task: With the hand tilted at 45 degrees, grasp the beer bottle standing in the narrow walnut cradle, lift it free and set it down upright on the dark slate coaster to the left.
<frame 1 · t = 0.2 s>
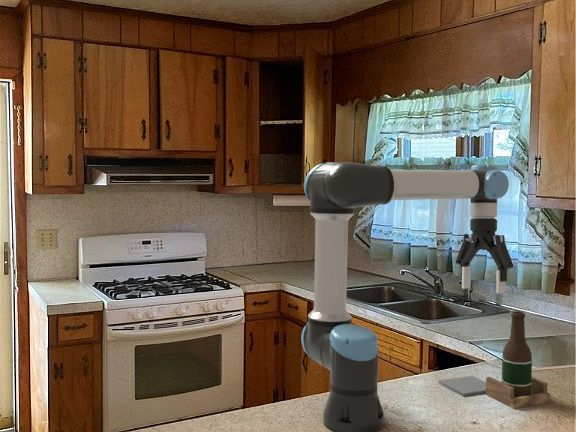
hand: (482, 290, 184), 28 cm above the worktop, tool pointing down, fingers open, 13 cm apart
cradle: (515, 397, 174), on the worktop
coaster: (467, 386, 183), on the worktop
beer bottle: (515, 398, 174), resting in cradle
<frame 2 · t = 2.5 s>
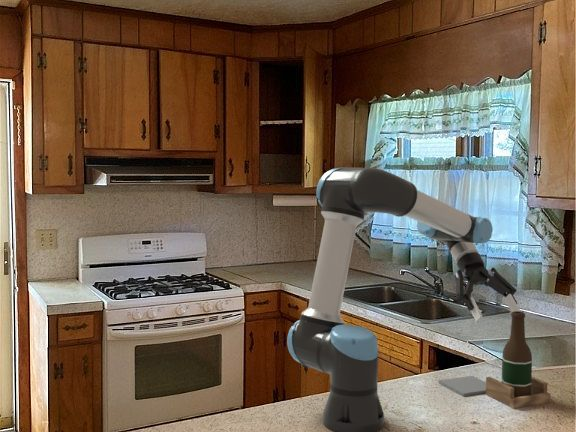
hand: (499, 317, 181), 21 cm above the worktop, tool tilted 45°, fingers open, 13 cm apart
nothing on the worktop moved.
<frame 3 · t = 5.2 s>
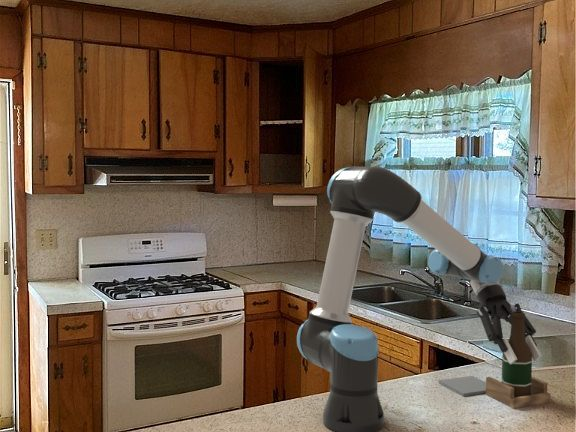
hand: (525, 360, 170), 12 cm above the worktop, tool tilted 45°, fingers closed on beer bottle, 7 cm apart
beer bottle: (515, 398, 174), resting in cradle, touching gripper
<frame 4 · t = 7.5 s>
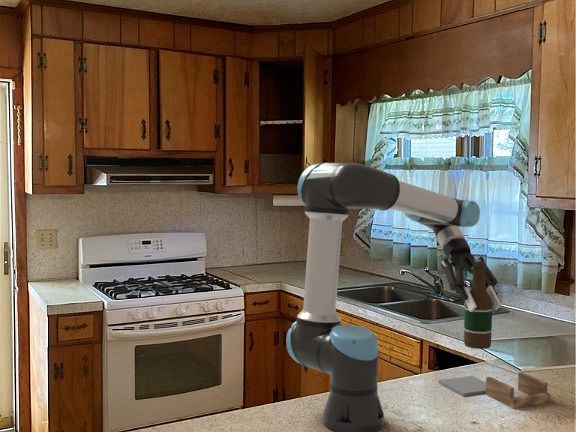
hand: (485, 308, 176), 24 cm above the worktop, tool tilted 45°, fingers closed on beer bottle, 7 cm apart
beer bottle: (477, 346, 180), point 12 cm above the worktop, touching gripper
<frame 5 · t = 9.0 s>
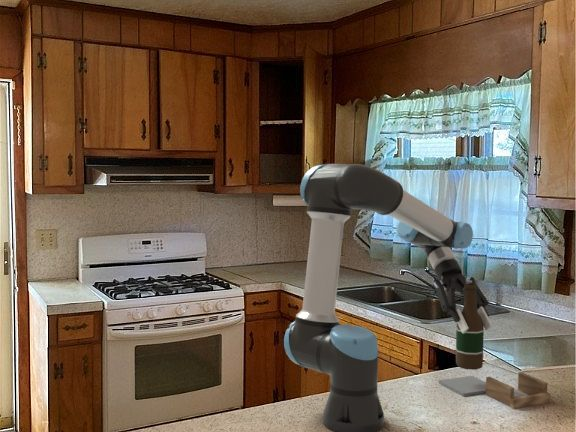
hand: (477, 329, 179), 18 cm above the worktop, tool tilted 45°, fingers closed on beer bottle, 7 cm apart
beer bottle: (469, 366, 183), point 6 cm above the worktop, touching gripper
when the fingers open (13 cm above the worktop, at t = 10.2 s): beer bottle drops 1 cm, resting on coaster.
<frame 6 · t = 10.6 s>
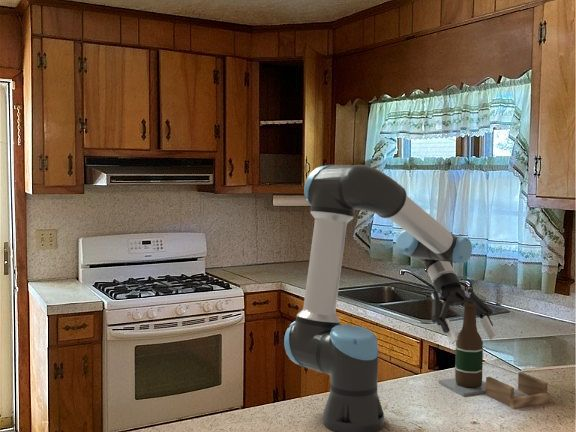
hand: (474, 339, 180), 15 cm above the worktop, tool tilted 45°, fingers open, 13 cm apart
beer bottle: (468, 384, 183), point 1 cm above the worktop, touching coaster
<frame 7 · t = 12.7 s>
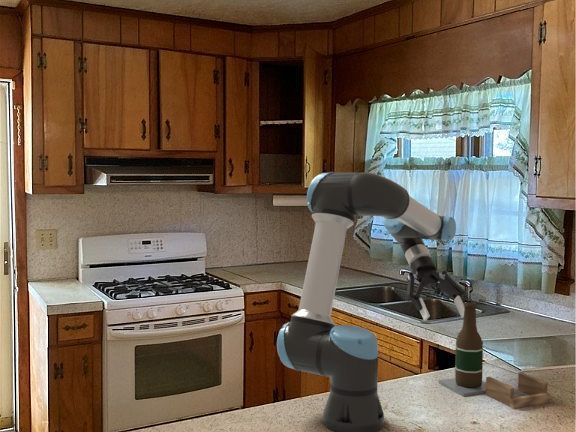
hand: (446, 317, 191), 18 cm above the worktop, tool tilted 45°, fingers open, 13 cm apart
nothing on the worktop moved.
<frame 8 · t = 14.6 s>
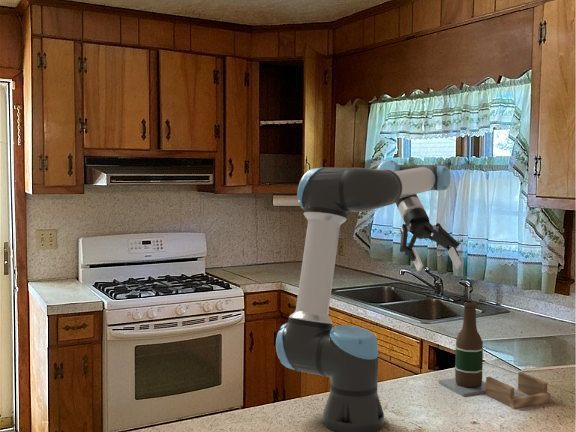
hand: (440, 267, 189), 34 cm above the worktop, tool tilted 45°, fingers open, 13 cm apart
nothing on the worktop moved.
at the end: beer bottle inside the target area on the coaster (0.2 cm from its centre), point 0.6 cm above the coaster's base; beer bottle tilted 0°; the gripper is holding nothing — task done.
